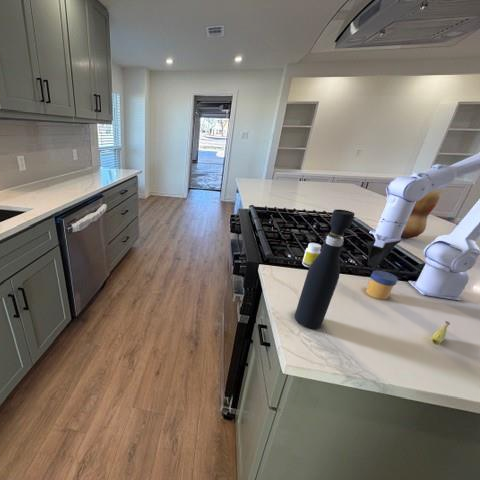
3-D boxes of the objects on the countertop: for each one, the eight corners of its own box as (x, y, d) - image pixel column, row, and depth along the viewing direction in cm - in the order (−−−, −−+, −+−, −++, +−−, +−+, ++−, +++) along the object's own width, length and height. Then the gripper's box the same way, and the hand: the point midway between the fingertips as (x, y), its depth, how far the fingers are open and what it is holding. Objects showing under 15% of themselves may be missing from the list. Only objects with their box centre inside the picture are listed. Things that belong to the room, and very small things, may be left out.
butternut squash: (411, 245, 115) (437, 191, 105) (377, 235, 126) (397, 184, 115) (423, 240, 121) (449, 188, 111) (390, 230, 132) (410, 182, 122)
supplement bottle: (318, 269, 92) (324, 248, 89) (304, 267, 93) (310, 246, 90) (313, 262, 97) (319, 243, 93) (300, 261, 97) (305, 241, 94)
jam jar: (382, 291, 80) (390, 273, 78) (391, 301, 76) (400, 283, 73) (362, 288, 82) (369, 271, 79) (370, 297, 77) (378, 279, 74)
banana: (436, 331, 64) (443, 319, 63) (445, 336, 63) (453, 323, 61) (426, 345, 60) (434, 332, 58) (436, 350, 59) (445, 336, 57)
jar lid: (389, 276, 79) (391, 272, 78) (400, 287, 73) (403, 282, 73) (367, 273, 80) (368, 269, 79) (376, 283, 75) (378, 278, 74)
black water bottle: (289, 312, 69) (320, 207, 57) (311, 312, 70) (346, 207, 58) (303, 329, 64) (341, 216, 52) (327, 328, 64) (370, 216, 52)
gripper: (382, 212, 79) (367, 251, 84) (368, 221, 70) (352, 263, 76) (412, 218, 74) (394, 259, 79) (401, 228, 65) (381, 273, 71)
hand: (375, 262), depth 77 cm, fingers open, 7 cm apart
